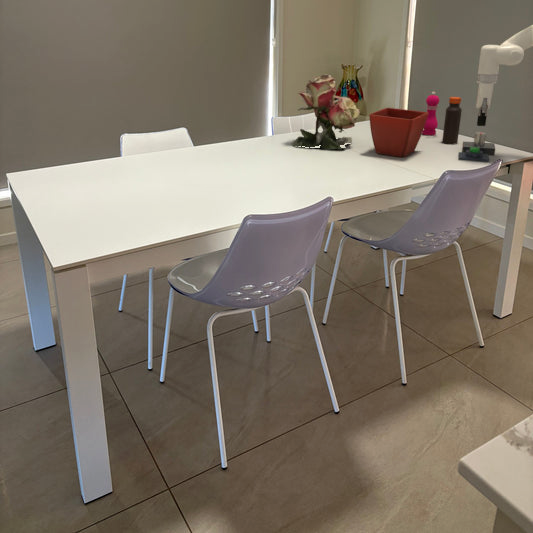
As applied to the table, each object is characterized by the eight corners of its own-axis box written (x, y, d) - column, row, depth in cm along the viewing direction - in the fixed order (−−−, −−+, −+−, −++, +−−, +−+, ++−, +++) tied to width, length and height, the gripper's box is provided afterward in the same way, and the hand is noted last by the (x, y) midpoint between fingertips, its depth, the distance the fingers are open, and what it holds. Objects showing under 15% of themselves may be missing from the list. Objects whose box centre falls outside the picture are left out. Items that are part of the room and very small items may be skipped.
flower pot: (424, 151, 256) (429, 111, 249) (408, 160, 242) (412, 119, 235) (384, 145, 266) (387, 107, 258) (365, 154, 252) (368, 114, 244)
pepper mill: (430, 136, 280) (435, 93, 272) (418, 133, 286) (422, 91, 277) (439, 134, 285) (444, 91, 276) (427, 131, 290) (432, 89, 281)
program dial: (473, 143, 255) (475, 131, 253) (484, 143, 254) (486, 131, 252) (473, 145, 252) (475, 133, 249) (484, 146, 250) (486, 133, 248)
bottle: (460, 142, 270) (466, 97, 261) (452, 145, 265) (458, 99, 257) (446, 140, 274) (452, 96, 265) (439, 142, 269) (444, 97, 261)
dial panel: (493, 150, 257) (494, 142, 255) (494, 155, 248) (495, 148, 247) (462, 148, 260) (463, 140, 259) (462, 153, 252) (463, 146, 250)
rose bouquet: (355, 151, 255) (359, 80, 242) (289, 147, 262) (290, 77, 249) (362, 138, 278) (366, 72, 265) (301, 135, 285) (302, 70, 272)
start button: (478, 151, 244) (479, 147, 244) (478, 153, 241) (479, 149, 240) (469, 150, 245) (470, 146, 245) (469, 153, 242) (470, 148, 241)
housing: (488, 156, 247) (489, 149, 245) (489, 162, 239) (490, 155, 238) (458, 154, 250) (459, 147, 249) (458, 160, 242) (459, 153, 241)
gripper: (476, 75, 239) (471, 121, 246) (477, 81, 226) (471, 129, 234) (496, 76, 237) (490, 122, 244) (498, 81, 224) (491, 129, 232)
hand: (481, 125), depth 239 cm, fingers closed
